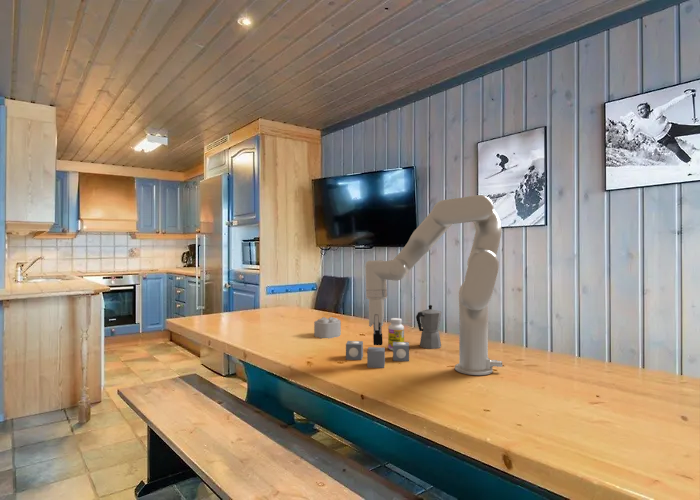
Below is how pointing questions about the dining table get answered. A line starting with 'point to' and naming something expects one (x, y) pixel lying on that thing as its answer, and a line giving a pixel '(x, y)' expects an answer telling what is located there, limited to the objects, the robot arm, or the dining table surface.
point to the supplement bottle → (395, 332)
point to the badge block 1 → (354, 350)
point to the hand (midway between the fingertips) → (378, 344)
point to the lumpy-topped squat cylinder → (327, 328)
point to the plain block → (375, 357)
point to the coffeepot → (429, 328)
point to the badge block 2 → (400, 351)
